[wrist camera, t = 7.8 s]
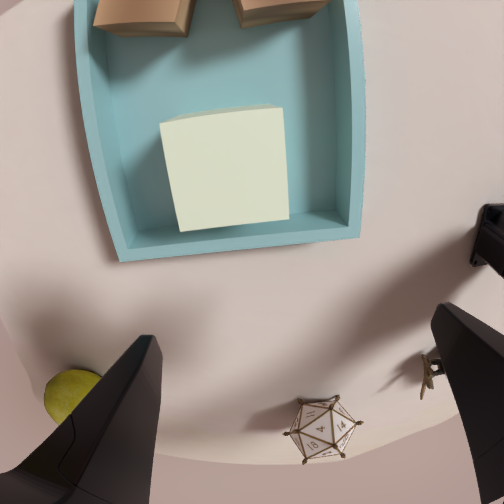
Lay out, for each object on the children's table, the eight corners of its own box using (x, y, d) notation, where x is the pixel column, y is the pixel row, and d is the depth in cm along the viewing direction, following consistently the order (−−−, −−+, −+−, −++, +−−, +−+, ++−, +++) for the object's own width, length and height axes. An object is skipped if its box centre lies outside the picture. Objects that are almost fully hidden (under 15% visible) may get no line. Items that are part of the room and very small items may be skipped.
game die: (307, 372, 34) (336, 399, 25) (352, 401, 34) (388, 430, 25) (264, 423, 33) (278, 464, 23) (311, 449, 33) (335, 488, 23)
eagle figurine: (409, 387, 31) (461, 379, 30) (429, 410, 24) (486, 397, 23) (417, 334, 32) (470, 328, 30) (441, 348, 25) (498, 339, 23)
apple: (134, 399, 30) (124, 456, 23) (72, 388, 29) (56, 439, 23) (116, 361, 26) (98, 427, 19) (48, 350, 25) (23, 406, 19)
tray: (329, -44, 10) (345, -63, 7) (342, 216, 19) (359, 237, 17) (96, -17, 10) (75, -30, 7) (133, 238, 19) (119, 262, 17)
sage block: (268, 103, 15) (282, 107, 11) (274, 185, 17) (289, 219, 13) (180, 114, 15) (159, 123, 11) (193, 195, 17) (180, 231, 13)
